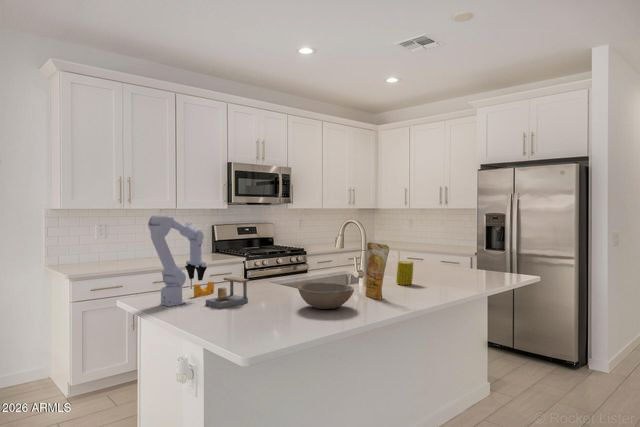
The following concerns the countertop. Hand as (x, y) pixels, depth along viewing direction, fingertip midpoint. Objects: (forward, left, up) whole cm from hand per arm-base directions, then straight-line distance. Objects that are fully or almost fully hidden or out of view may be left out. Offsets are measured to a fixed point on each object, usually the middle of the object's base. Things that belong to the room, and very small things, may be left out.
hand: (195, 279), depth 226 cm
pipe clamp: (+7, +4, -10) cm, 13 cm away
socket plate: (+1, -24, -9) cm, 26 cm away
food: (+103, -65, -10) cm, 122 cm away
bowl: (+25, -66, -10) cm, 71 cm away
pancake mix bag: (+60, -71, -10) cm, 93 cm away
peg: (-2, -24, -9) cm, 26 cm away
